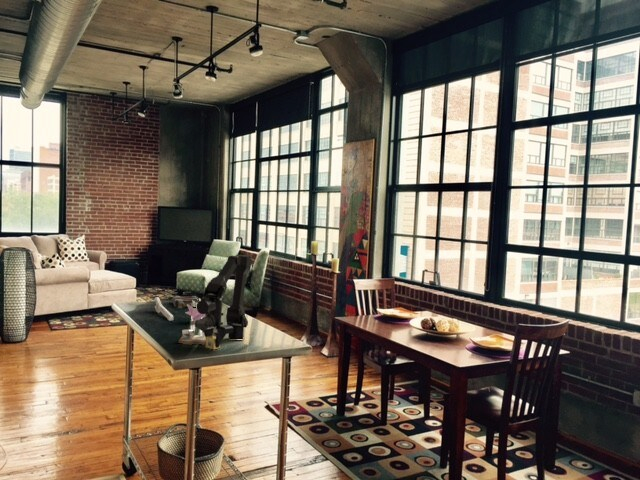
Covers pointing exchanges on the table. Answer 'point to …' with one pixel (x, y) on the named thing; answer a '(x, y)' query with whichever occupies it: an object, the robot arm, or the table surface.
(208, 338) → the yellow knobbed block
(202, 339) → the base plate
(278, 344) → the table surface
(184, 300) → the book
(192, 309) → the lily
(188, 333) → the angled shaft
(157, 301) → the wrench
